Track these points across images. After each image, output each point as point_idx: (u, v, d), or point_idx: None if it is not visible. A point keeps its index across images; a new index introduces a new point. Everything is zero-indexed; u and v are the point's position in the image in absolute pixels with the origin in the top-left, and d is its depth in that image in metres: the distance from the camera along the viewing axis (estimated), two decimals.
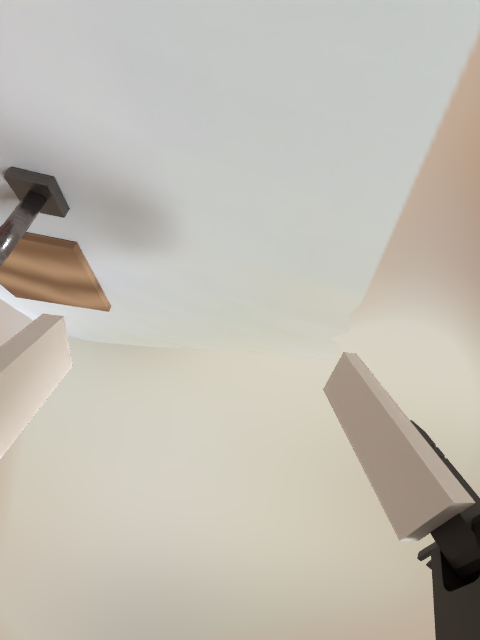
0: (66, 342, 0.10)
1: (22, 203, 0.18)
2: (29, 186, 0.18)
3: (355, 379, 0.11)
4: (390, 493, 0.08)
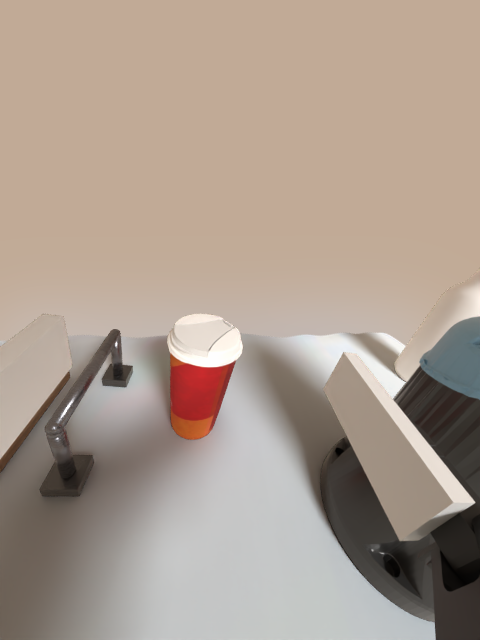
0: (66, 342, 0.10)
1: (73, 462, 0.21)
2: (80, 471, 0.22)
3: (354, 378, 0.11)
4: (390, 493, 0.08)
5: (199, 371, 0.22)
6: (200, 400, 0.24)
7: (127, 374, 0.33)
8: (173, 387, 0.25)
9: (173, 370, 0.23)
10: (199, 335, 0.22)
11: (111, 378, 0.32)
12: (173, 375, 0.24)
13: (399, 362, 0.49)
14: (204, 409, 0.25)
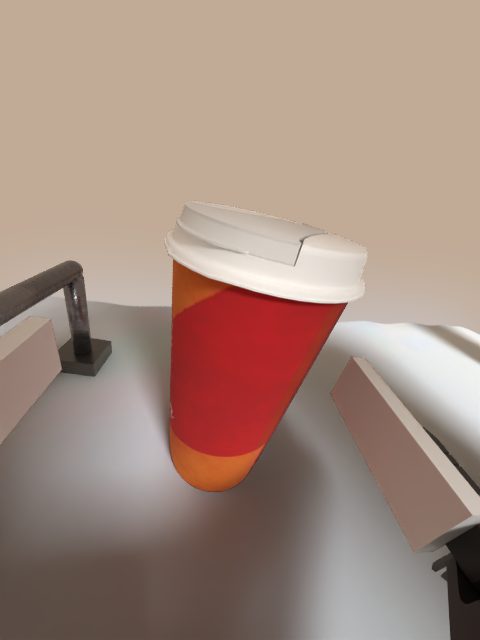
0: (54, 345, 0.10)
1: None
2: None
3: (364, 383, 0.11)
4: (403, 502, 0.08)
5: (260, 318, 0.07)
6: (246, 411, 0.09)
7: (98, 354, 0.18)
8: (177, 374, 0.10)
9: (178, 326, 0.09)
10: (256, 221, 0.08)
11: (67, 358, 0.17)
12: (178, 340, 0.09)
13: None
14: (250, 433, 0.10)
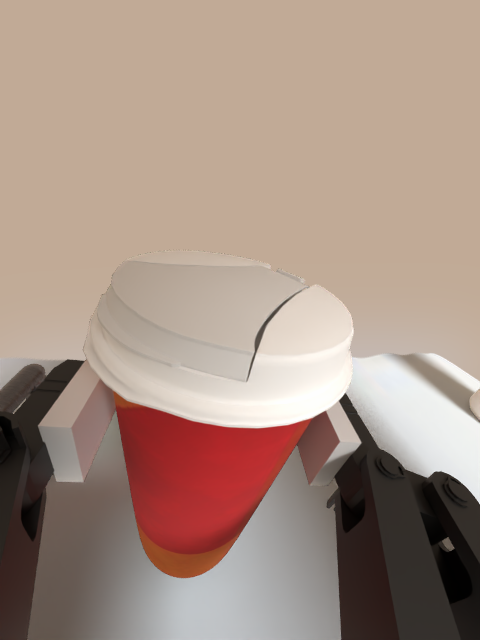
0: None
1: None
2: None
3: None
4: (306, 445, 0.09)
5: (208, 438, 0.05)
6: (211, 518, 0.07)
7: None
8: (126, 465, 0.08)
9: (119, 417, 0.07)
10: (208, 291, 0.06)
11: None
12: (121, 433, 0.07)
13: None
14: (221, 533, 0.08)
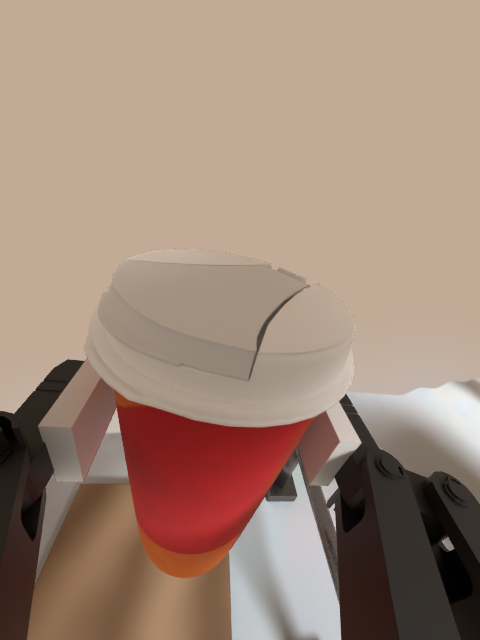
0: None
1: None
2: None
3: None
4: (306, 445, 0.09)
5: (209, 437, 0.05)
6: (212, 518, 0.07)
7: (292, 483, 0.26)
8: (127, 464, 0.08)
9: (119, 417, 0.07)
10: (209, 290, 0.06)
11: (279, 492, 0.25)
12: (121, 432, 0.07)
13: None
14: (222, 532, 0.08)
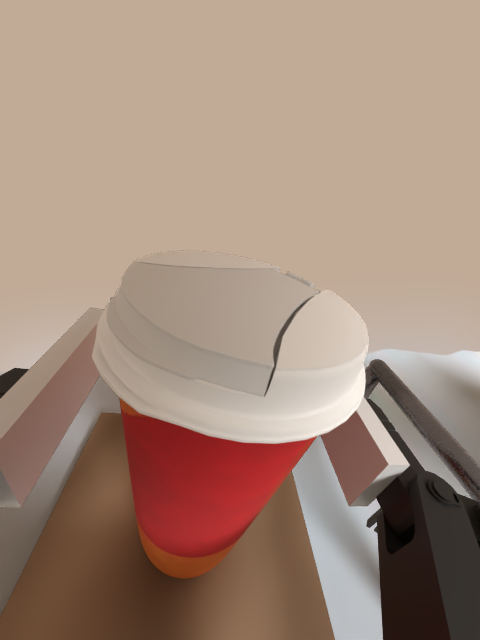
0: None
1: None
2: None
3: None
4: (343, 463, 0.09)
5: (221, 450, 0.05)
6: (216, 525, 0.07)
7: None
8: (130, 469, 0.08)
9: (124, 423, 0.07)
10: (220, 297, 0.06)
11: None
12: (126, 438, 0.07)
13: None
14: (224, 538, 0.08)
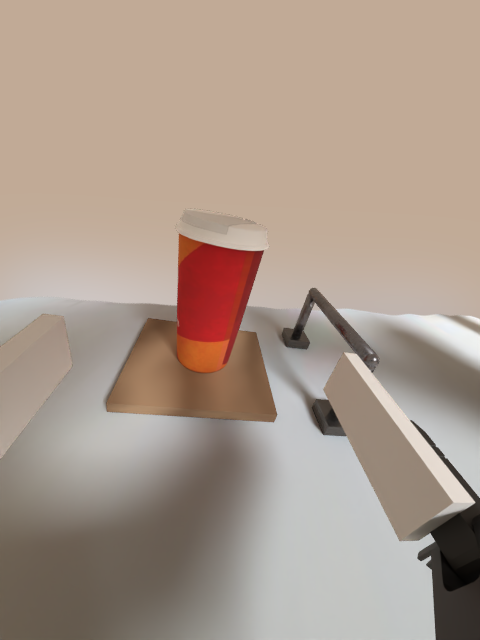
0: (66, 342, 0.10)
1: None
2: None
3: (355, 378, 0.11)
4: (390, 493, 0.08)
5: (216, 257, 0.17)
6: (215, 309, 0.19)
7: (305, 337, 0.33)
8: (181, 295, 0.20)
9: (182, 267, 0.19)
10: (215, 218, 0.18)
11: (296, 339, 0.32)
12: (181, 275, 0.19)
13: None
14: (219, 325, 0.20)
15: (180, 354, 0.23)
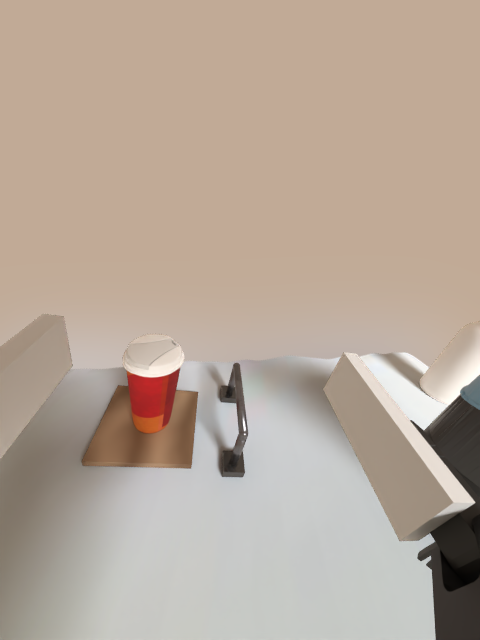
0: (66, 342, 0.10)
1: None
2: (240, 461, 0.34)
3: (355, 378, 0.11)
4: (390, 493, 0.08)
5: (144, 379, 0.29)
6: (149, 402, 0.31)
7: (236, 393, 0.45)
8: (129, 391, 0.32)
9: (128, 378, 0.31)
10: (146, 352, 0.30)
11: (227, 396, 0.44)
12: (128, 382, 0.31)
13: (424, 380, 0.61)
14: (153, 409, 0.32)
15: (133, 421, 0.35)
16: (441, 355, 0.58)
